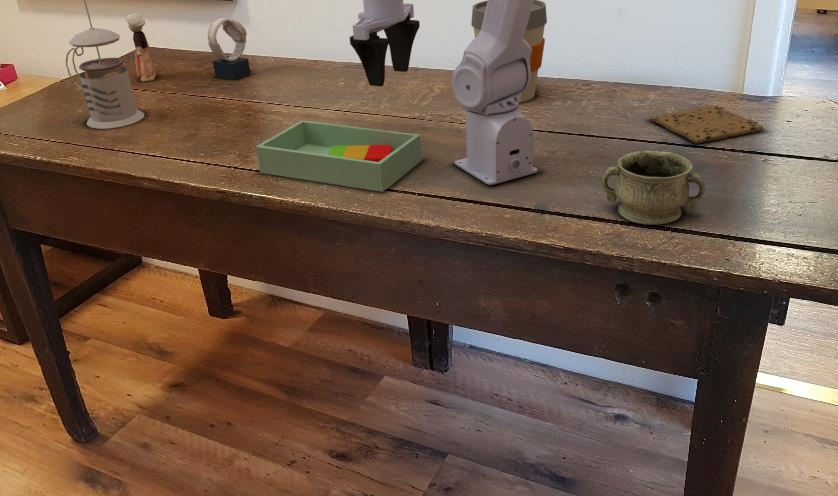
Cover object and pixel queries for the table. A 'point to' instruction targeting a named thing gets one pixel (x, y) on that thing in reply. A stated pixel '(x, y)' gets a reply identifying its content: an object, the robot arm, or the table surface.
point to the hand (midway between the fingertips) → (389, 78)
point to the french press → (104, 82)
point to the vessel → (652, 186)
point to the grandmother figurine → (141, 48)
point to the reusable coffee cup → (531, 37)
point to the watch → (233, 64)
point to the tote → (308, 156)
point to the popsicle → (362, 152)
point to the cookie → (706, 123)
